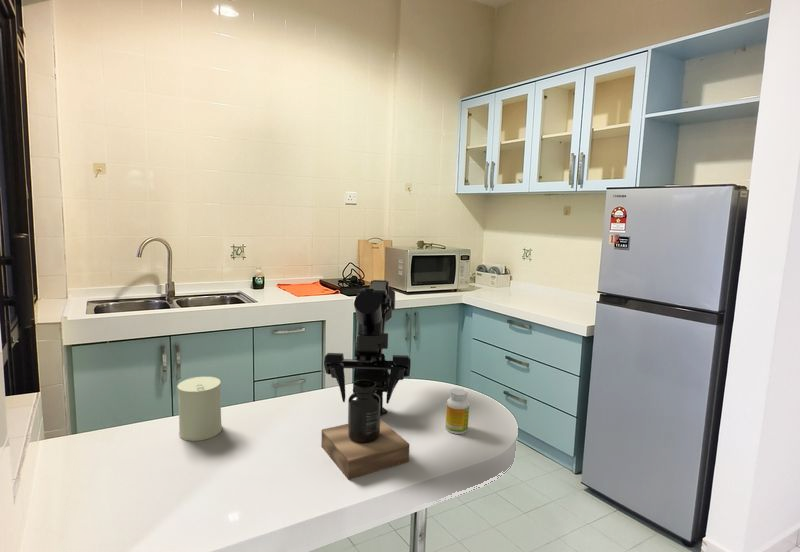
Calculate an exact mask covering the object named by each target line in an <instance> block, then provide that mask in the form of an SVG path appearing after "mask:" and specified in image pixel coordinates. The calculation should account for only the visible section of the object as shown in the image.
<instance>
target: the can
mask: <svg viewBox="0 0 800 552" xmlns="http://www.w3.org/2000/svg"><path fill="white" fill-rule="evenodd" d="M221 384H222V381H221V380H220V379H219V378H218V377H215V376H194V377H189V378H187V379H184V380H182V381H181V382H179V383H178V384H177V386H176V387H177V398H178V400H177V401H178V402H177V403H178V419H179V421H178V422H179V423H178V424H179V429H178V430H179V431H178V436H179V437H180V439H182V440H186V441H188V442H189V441H193V442H197V441H204V440H209V439H211V438H214V437H216V436H217V435H220V433H221V431H222V429H223V426H222V400H221V397H222V394H221V393H222V392H221V391H222V390H221Z"/></svg>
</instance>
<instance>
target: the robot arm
mask: <svg viewBox="0 0 800 552" xmlns="http://www.w3.org/2000/svg"><path fill="white" fill-rule="evenodd" d="M353 305H354V310H355V316H356V321H357V322H358V323H357V331H356V334H357V335H356V341H355V344H354V357H355V358H353V359H349V358H347V359H346V358H345V357H344V353H341V352H327V353H326V354H325V356H324V361H323V362H324V363H323V366H324V370H325V373H326V375H331V376H330V377H331V378H332V379H336V382H337V384H338V386H339V391H340V396H341V399H342V403H346V379H345V377H346V376H345V369H354V372H353V383H354V382H355V381H357V380H363V379H367V380H372V381H374V382H375V383H376V394H377V395H378V396H379V397H380V416H381V415H384V414H388V410H387V409H386V408H385V407H384V406H383V403H384V398H383V397H384V396H383V395H384V393H386V403H385V404H389V403H390V400H391V398H392V395H393V392H394V391H395V390H394V389H395V388H396V386H397V385H398V383H399V381H404V379H405V378H408V377H410V374H411V364H412V363H411V357H410V356H409V355H403V354H401V355H400V354H393V355H392V360H386V356H385V354H384V353H383V349H384V350H388V348H389V333H387V332H386V325H387V322H388V321H389V320H390V319H392V317H393V311H395V310H396V292H395V290H393V288H391V286H390V282H389V281H387V280H385V279H373V280H371V281H370V286H369V288H366V287H365V288H361V289H360V290H359V292H358V293H356V297H355V299H354V301H353ZM385 332H386V333H385ZM389 370H390V371H389Z"/></svg>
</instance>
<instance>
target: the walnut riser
mask: <svg viewBox="0 0 800 552" xmlns="http://www.w3.org/2000/svg"><path fill="white" fill-rule="evenodd" d="M410 446H411V445H410V443H409V442H408V441H407V440H406V439H404V438H403V437H402V436H401V435H400V434H399V433H398V432H396V431H395V430H394V429H392V427H391V426H389V425H388V424H387V423H386V422H385V421H383V420H382V418H380V435H379V437H378V439H377V440H375V441H373V442H370V443H357V442H354V441H352V440H351V439H350V438H349V436H348V423H345V424H341V425H335V426H332V427H328V428H323V429H321V448H322V449H323V450H324V451H325V453H326V454H327V456H329V458H330V459H331V460H332V462H333V463H334V464H335V465H336V466H337V467H338V469H339V471H341V473H342V474H343V475H344V476H345V477H346V479H347V480H350V479H353V478H358V477H361V476H364V475H368V474H371V473H375V472H377V471H378V472H379V471H382V470H385V469H389V468H393V467H396V466H398V465H402V464H405V463H408V462H410Z"/></svg>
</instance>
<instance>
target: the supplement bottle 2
mask: <svg viewBox="0 0 800 552" xmlns="http://www.w3.org/2000/svg"><path fill="white" fill-rule="evenodd" d="M449 396H450V397H449V398H448V399H447V400H446V411H445V412H446V413H445V430H446V431H447V432H449V433H451V434H456V435H462V434H463V435H464V434H465V433H466V432H468V428H469V416H470V415H469V414H470V402H469V400H468V399H467V398H468V392H467V390H465V389H464V388H457V387H456V388H452V389H450V392H449Z"/></svg>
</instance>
